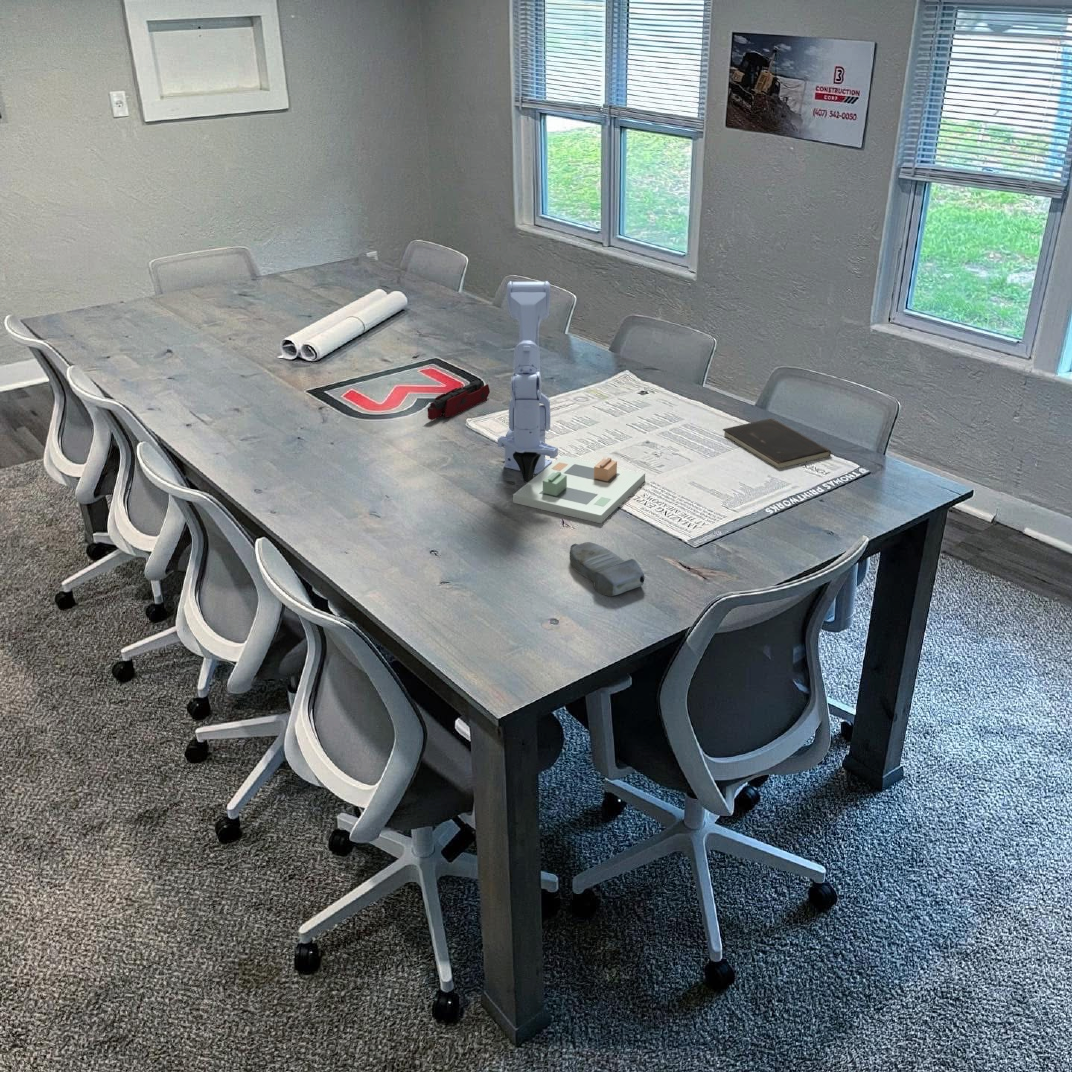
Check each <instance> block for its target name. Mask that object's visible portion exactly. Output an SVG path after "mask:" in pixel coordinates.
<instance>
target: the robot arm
mask: <svg viewBox="0 0 1072 1072" xmlns="http://www.w3.org/2000/svg"><path fill="white" fill-rule="evenodd" d="M506 287H507V288H506V304H507V308H508V314H509V315H510V318H511V319H513V320H516V321H517V322H518V331H519V336H518V337H519V343H518V344H517V345H515V347H514V350H513V354H514V355H513V375H511V378H510V379H511V380H510V394H511V398H510V400H509V406H508V407H509V408H508V430H507V431H506V433H505V435H501V436H500V437H498V438H497V447H499V448H503V447H504V464H503V467H504V468H506V469H511V470H515V471H520V474H521V477H522V480H523V482H525V483H528V482H530V481H531V480H532V479H533V478H534V475H538V474H539V473H541V472H542V471H543V470H544V469H546V468H547V467H548V466H549V465H551V464H552V463H553V460H551V459H555V458H556V457H557V456H558V455H559V454H558V453H559V452H558V450H559V449H558V448H559V447H557V446H552V445H550V444H547V443H546V432H549V431H550V430H551V401H550V398H549V397H547V395H545V394H544V393H542V376H541V369H540V365H541V363H540V362H541V361H540V360H541V349H540V347H539V342H540V341H539V340H540V339H539V338H540V337H539V330H540V327H541V324H542V321H543V320H546V319H547V318H549V317H550V316H549V314H550V312H551V311H550V310H551V309H550V306H551V283H550V282H549V281H548V280H545V281H513V280H512V281H511V280H509V281H508V283H507V285H506ZM541 404H542V405H541ZM546 457H549V458H550V459H546Z"/></svg>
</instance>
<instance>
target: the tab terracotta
mask: <svg viewBox="0 0 1072 1072" xmlns="http://www.w3.org/2000/svg"><path fill="white" fill-rule="evenodd" d="M597 463H598V464H597V465H595V466H594V479H599V480H603V481H609V480H610V479H611V478H612V477H613V476H614V475H615V474H616V473H617V467H618V461H616V460H612V458H611V457H607V458H602V459H601V460H600V461H599V462H597Z"/></svg>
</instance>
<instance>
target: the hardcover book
mask: <svg viewBox="0 0 1072 1072" xmlns="http://www.w3.org/2000/svg"><path fill="white" fill-rule="evenodd" d="M722 431H723V432H724V436H725V437H726V438H728V439H729V440H731V441H733V442H734V441H735V442H734V443H736V444H737V445H740V446H741V447H742V448H745V449H746V450H747V451H749V452H751V453H753V454H755V455H756V456H757V455H758V456H757V457H759V458H760V459H762V460H764V461H766V462H767V463H769V464H771V465H772V466H774V467H775V468H777V469H782V468H786V467H789V466H790V467H791V466H793V465H794V464H795V465H798V464H802V463H806V461H807V462H810V461H814V460H818V459H822V458H826V457H831V454H832V451H831V450H830V449H828V448H826V447H825V446H823V445H822V444H820V443H818V442H815V441H814V440H812V439H811V438H809V437H806V436H805V435H803V434H801V433H799V432H798V431H796V430H794V429H792V428H791V427H789V426H787V425H785V424H783V423H781V422H780V421H778V420H776V419H775V418H773V417H771V418H766V419H763V420H761V419H760V420H757V421H753V422H748V423H744V424H739V425H735V426H731V427H726V428H723V429H722ZM795 465H794V466H795Z"/></svg>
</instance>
